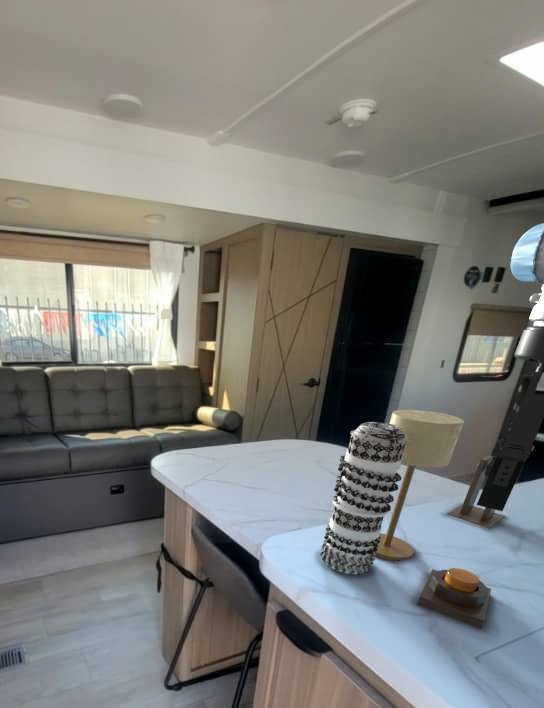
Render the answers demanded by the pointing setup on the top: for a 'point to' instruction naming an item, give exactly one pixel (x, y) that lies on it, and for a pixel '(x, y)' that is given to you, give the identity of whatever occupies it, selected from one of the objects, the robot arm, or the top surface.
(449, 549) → the top surface
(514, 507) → the top surface
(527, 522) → the top surface
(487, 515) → the stand
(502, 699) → the top surface
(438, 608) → the button block
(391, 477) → the decorative candle
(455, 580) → the button
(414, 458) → the lamp
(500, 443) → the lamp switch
